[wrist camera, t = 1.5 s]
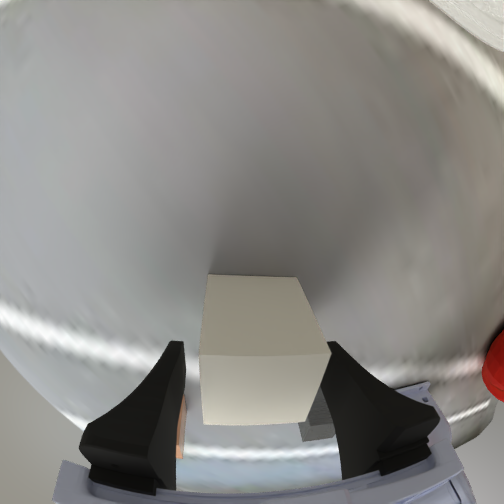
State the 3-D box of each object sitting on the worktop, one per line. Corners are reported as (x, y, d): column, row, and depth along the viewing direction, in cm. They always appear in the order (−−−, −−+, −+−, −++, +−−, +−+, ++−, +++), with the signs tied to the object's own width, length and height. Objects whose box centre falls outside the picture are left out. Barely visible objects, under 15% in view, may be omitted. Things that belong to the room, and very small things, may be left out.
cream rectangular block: (296, 277, 16) (331, 353, 10) (284, 343, 18) (304, 421, 12) (207, 274, 16) (198, 354, 10) (208, 342, 18) (203, 424, 12)
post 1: (184, 394, 20) (178, 445, 15) (186, 411, 21) (182, 458, 16) (153, 391, 20) (143, 440, 15) (158, 408, 21) (150, 454, 16)
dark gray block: (329, 385, 21) (342, 421, 17) (321, 402, 22) (332, 437, 18) (299, 387, 20) (310, 426, 17) (294, 405, 21) (302, 441, 18)
